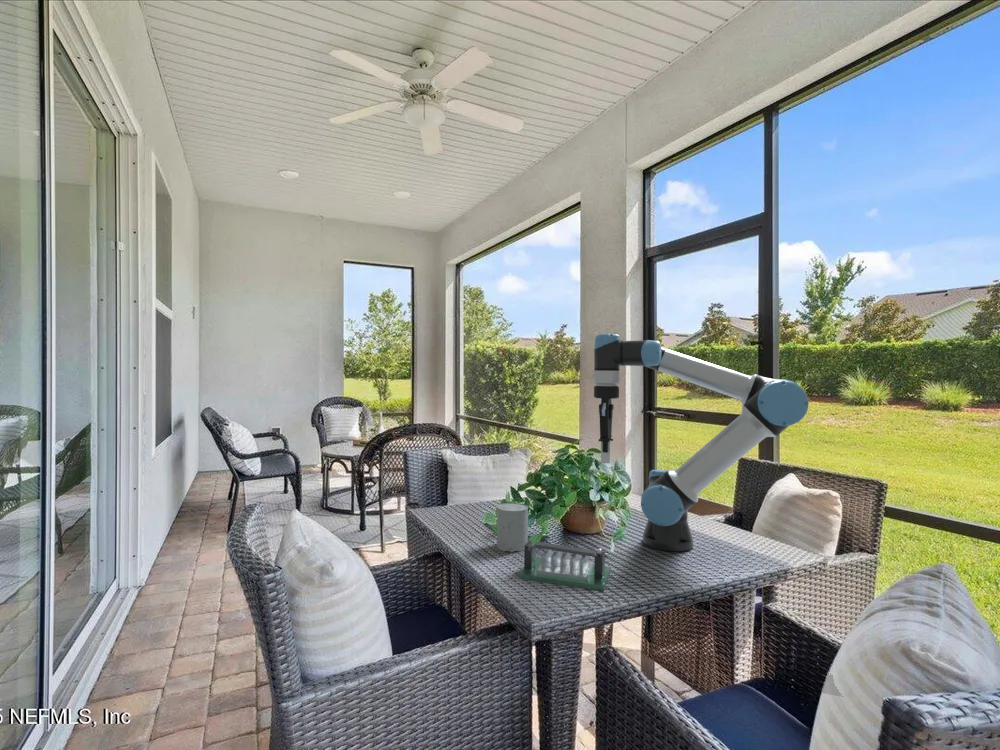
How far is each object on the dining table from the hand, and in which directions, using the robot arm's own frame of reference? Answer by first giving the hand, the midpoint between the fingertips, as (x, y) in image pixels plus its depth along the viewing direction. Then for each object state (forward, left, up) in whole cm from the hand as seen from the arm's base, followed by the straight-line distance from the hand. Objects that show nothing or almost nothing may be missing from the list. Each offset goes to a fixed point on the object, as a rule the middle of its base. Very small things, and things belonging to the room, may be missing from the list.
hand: (605, 462), depth 158 cm
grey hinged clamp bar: (+6, +24, -20) cm, 32 cm away
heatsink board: (+7, +24, -26) cm, 36 cm away
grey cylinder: (+27, +8, -27) cm, 39 cm away
